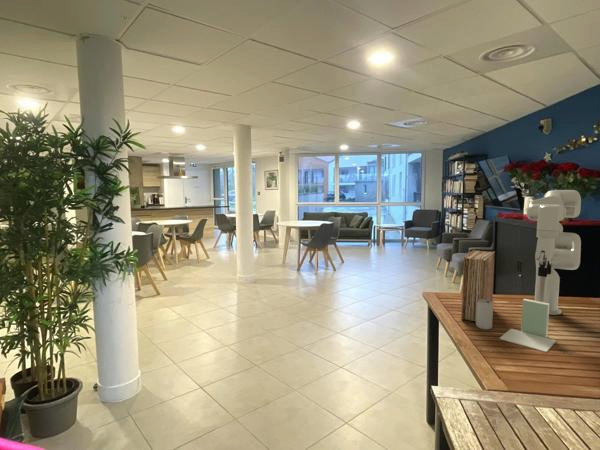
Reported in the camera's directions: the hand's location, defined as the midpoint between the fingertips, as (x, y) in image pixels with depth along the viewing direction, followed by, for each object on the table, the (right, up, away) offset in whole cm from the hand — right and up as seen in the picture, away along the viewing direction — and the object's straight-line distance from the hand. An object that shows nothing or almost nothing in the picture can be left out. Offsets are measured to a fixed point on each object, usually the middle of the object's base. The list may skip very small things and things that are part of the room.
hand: (544, 274), depth 150 cm
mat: (-15, -25, -11) cm, 31 cm away
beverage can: (-25, -24, +2) cm, 35 cm away
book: (-20, -22, +18) cm, 35 cm away
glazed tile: (-8, -24, -5) cm, 26 cm away
